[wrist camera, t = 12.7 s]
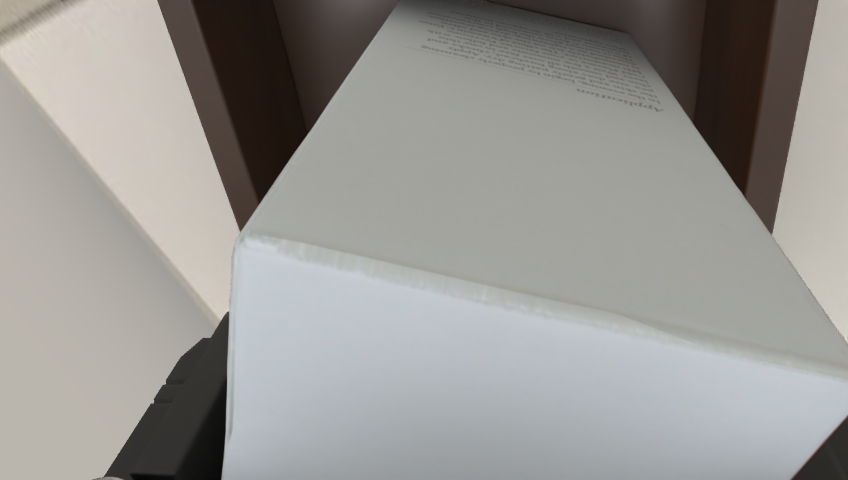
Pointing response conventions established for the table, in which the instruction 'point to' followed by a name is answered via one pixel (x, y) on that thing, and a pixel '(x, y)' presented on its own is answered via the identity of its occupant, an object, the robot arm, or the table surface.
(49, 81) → the table surface
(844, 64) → the table surface
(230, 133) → the box
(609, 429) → the small box
